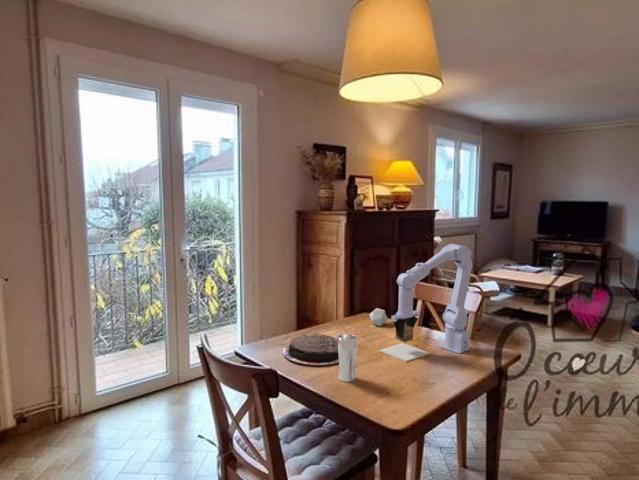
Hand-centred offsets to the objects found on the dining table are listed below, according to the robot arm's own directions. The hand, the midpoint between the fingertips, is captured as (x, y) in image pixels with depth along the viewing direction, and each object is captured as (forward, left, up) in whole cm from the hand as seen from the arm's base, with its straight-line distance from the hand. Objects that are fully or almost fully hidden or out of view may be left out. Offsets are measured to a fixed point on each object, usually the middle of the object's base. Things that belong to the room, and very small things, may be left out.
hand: (404, 335), depth 171 cm
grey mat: (0, 0, -7) cm, 7 cm away
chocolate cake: (+21, +29, -8) cm, 37 cm away
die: (+33, -19, -7) cm, 39 cm away
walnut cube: (0, 0, -2) cm, 2 cm away
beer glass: (-4, +35, -7) cm, 36 cm away
